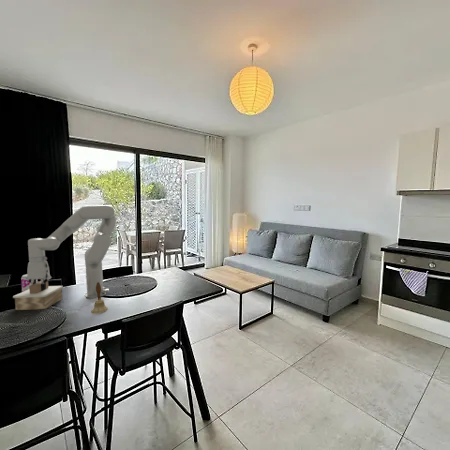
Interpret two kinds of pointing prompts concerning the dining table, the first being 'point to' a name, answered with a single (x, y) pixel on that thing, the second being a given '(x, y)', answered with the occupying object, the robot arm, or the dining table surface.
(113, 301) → the dining table surface
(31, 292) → the lid
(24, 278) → the supplement can
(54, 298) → the box
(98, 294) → the hand bell
